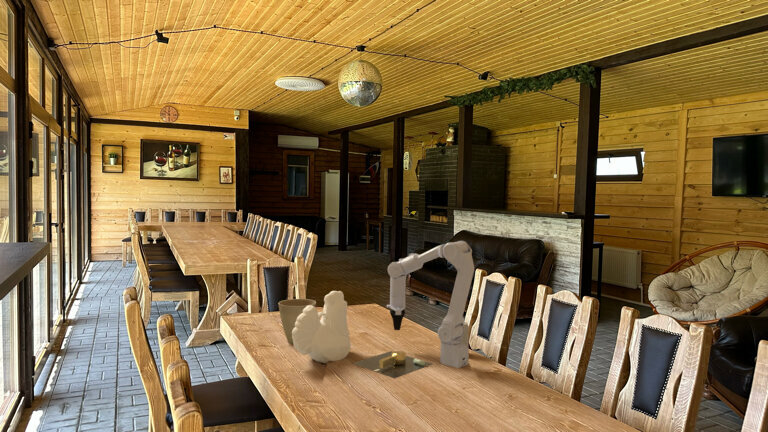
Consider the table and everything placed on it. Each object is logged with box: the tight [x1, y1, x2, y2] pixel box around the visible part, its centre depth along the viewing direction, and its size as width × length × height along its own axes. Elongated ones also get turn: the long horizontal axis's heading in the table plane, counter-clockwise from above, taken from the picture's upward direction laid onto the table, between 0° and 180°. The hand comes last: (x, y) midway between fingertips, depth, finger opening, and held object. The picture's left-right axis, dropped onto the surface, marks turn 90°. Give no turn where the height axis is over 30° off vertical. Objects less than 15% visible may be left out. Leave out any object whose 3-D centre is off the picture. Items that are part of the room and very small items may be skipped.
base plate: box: [351, 350, 433, 379], centre depth 178 cm, size 20×20×3 cm
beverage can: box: [461, 321, 470, 348], centre depth 195 cm, size 6×6×12 cm
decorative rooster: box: [292, 290, 352, 364], centre depth 184 cm, size 25×16×25 cm, turn 129°
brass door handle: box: [379, 350, 407, 368], centre depth 176 cm, size 12×5×3 cm, turn 141°
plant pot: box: [277, 298, 317, 345], centre depth 208 cm, size 15×15×16 cm
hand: (397, 329), depth 193 cm, fingers closed
